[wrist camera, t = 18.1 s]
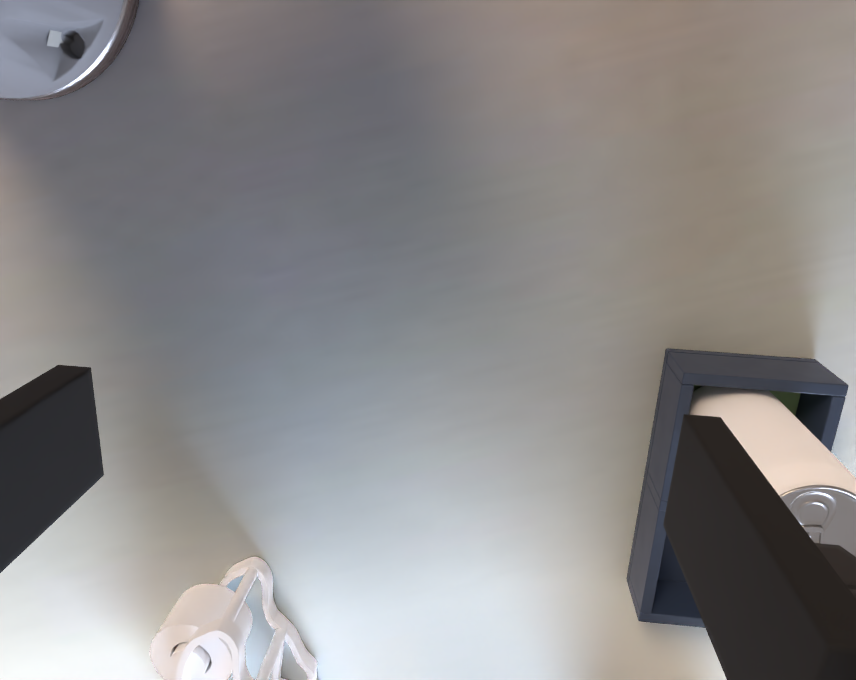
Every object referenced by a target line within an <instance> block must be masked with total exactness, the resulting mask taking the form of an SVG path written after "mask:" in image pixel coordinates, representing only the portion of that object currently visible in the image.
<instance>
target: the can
mask: <svg viewBox="0 0 856 680" xmlns="http://www.w3.org/2000/svg"><path fill="white" fill-rule="evenodd" d="M689 415H701V416H713V417H721V418H722V420H723V421H724V422H725V424H726V425H727V426H728V428H729V429H730V430H731V432H732V433H733V434H734V436H735V437H736V438H737V440H738V441H739V442H740V444H741V445H742V446H743V448H744V449H745V451H746V452H747V453H748V455H749V456H750V457H751V459H752V460H753V461H754V463H755V464H756V465H757V467H758V468H759V469H760V471H761V472H762V473H763V475H764V476H765V477H766V479H767V480H768V481H769V483H770V484H771V485H772V487H773V488H774V489H775V491H776V492H777V493H778V495H779V496H780V497H781V499H782V500H783V501H784V503H785V504H786V505H787V507H788V508H789V510H790V511H791V512H792V514H793V515H794V516H795V518H796V519H797V520H798V522H799V523H800V524H801V526H802V527H803V528H804V530H805V531H806V532H807V534H808V535H809V536H810V538H811V539H812V540H813V542H814V543H821V544H832V545H840V546H841V547H843V548H844V549H845V550H847V551H848V552H850V553H851V554H852V555H854V556H855V557H856V478H855V477H854V476H853V475H852V474H851V473H850V471H849V470H848V469H847V468H846V467H845V466H844V465H843V464H842V463H841V462H840V461H839V460H838V459H837V458H836V457H835V456H834V455H833V454H832V453H831V452H830V451H829V450H828V449H827V448H826V447H825V446H824V445H823V444H822V443H821V442H820V441H819V440H818V439H817V438H816V437H815V436H814V435H813V434H812V433H811V432H810V431H809V430H808V429H807V428H806V427H805V426H804V425H803V424H802V423H801V422H800V421H799V420H798V419H797V418H796V417H795V416H794V415H793V414H792V413H791V412H790V411H789V410H788V409H787V408H786V407H785V406H784V405H783V404H782V403H781V402H780V401H779V400H778V399H777V398H776V397H775V396H774V395H773V394H772V393H771V392H770V391H767V390H754V389H741V388H728V387H714V386H702V387H700V388H698V389H697V390H695V391H694V392H693V394H692V399H691V405H690V410H689Z"/></svg>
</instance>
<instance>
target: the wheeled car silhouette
mask: <svg viewBox="0 0 856 680" xmlns="http://www.w3.org/2000/svg"><path fill="white" fill-rule="evenodd" d="M244 574H245V575H244ZM242 575H244V577H243V579H242V581H241V582H240V584H239V586H238V588H237V590H236V592H234V591H232V590H230V589H229V588H226V587H227V585H228V584H229V583H230V582H231V581H232V580H233V579H235V578H237V577H239V576H242ZM256 577H257V578H258V579H259V581H260V583H261V586H262V607H263V612H264V615H265V618H266V620H267V622H268V623H269V625H270V626H271V627H272V628H274V629H275V630H276V631H275V634H274V636H273V639H272V641H271V644H270V646H269V648H268V651H267V653H266V656H265V658H264V660H263V663H262V665H261V668H260V670H259V673H258V675H257V677H256V680H269V677H270V675H271V672H272V675H271V680H287V679H283V678H281V668H282V660H283V650H284V639H285V641H286V642H287V644H288V646H289V647H290V649H291V652H292V654H293V656H294V658H295V660H296V662H297V663H298V665H299V666H300V667H301V668H302V669H303V670H304V671H305V672H306V673H307V680H318V679H317V665H318V663H317V661H316V659H315V658H314V657H313V656H312V655H311V654H310V653H309V652H308V651H307V649H306V648H305V646H304V644H303V642H302V640H301V637H300V635H299V633H298V631H297V630H296V628H295V627H294V625H293V624H292V623H291V622H290V621H289V620H288V619H287V618H286V617H285V616H284V615H283V614H282V613H281V612H280V611H279V610H278V609H277V607H276V605H275V602H274V598H273V575H272V572H271V570H270V567H269V566H268V564H267V563H266V562H265V561H264V560H262V559H261V558H259V557H255V556H253V557H250V558H247V559H245V560H243V561H241V562H238V563H236V564H234V565H233V566H232V567H231V568H230V569H229V570H228V572H227V573H226V575H225V576H224V578H223V580H222V582H221V583H220V585H217V584H200V585H196V586H192V587H191V588H189V589H188V590H186V591H184V592H183V594H182V595H181V596H180V598H179V599H178V601H177V602H176V604H175V605H174V607H173V609H172V610H171V612H170V613H169V615H168V616H167V618H166V620H165V621H164V623H163V624H162V626H161V627H160V629H159V630H158V632H157V634H156V635H155V637H154V638H153V640H152V642H151V646H150V651H149V652H150V658H151V662H152V664H153V666H154V668H155V670H156V671H157V673H158V674H159V675H160V676H161V677H162V678H163V679H164V680H228V678H229V677H230V675H231V673H233V679H234V680H255V679H254V678H252V677H251V675H250V673H249V671H248V669H247V666H246V660H245V643H246V641H247V638H248V636H249V634H250V632H251V628H252V624H253V621H252V613H251V611H250V609H249V607H248V605H247V603H246V602H245V599H246V597H247V595H248V593H249V591H250V589H251V587H252V585H253V583H254V581H255V579H256Z"/></svg>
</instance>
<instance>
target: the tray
mask: <svg viewBox="0 0 856 680" xmlns="http://www.w3.org/2000/svg"><path fill="white" fill-rule="evenodd" d="M702 386H714V387H728V388H741V389H754V390H767V391H770V392H771V393H772V394H773V395H774V396H775V397H776V398H777V399H778V400H779V401H780V402H781V403H782V404H783V405H784V406H785V407H786V408H787V409H788V410H789V411H790V412H791V413H792V414H793V415H794V416H795V417H796V418H797V419H798V420H799V421H800V422H801V423H802V424H803V425H804V426H805V427H806V428H807V429H808V430H809V431H810V432H811V433H812V434H813V435H814V436H815V437H816V438H817V439H818V440H819V441H820V442H821V443H822V444H823V445H824V446H825V447H826V448H827V449H828V450H829V451H830V452H831V450H832V446H833V442H834V438H835V435H836V431H837V427H838V423H839V420H840V416H841V412H842V409H843V405H844V401H845V396H846V394H847V390H848V384H846V383H845V382H844V381H842V380H841V379H840V378H838V377H837V376H836V375H835V374H833V373H832V372H831V371H829V370H828V369H827V368H825V367H824V366H823V365H822V364H820V363H819V362H818V361H817V360H815V359H803V358H789V357H775V356H762V355H748V354H734V353H720V352H706V351H693V350H679V349H666V352H665V358H664V364H663V370H662V375H661V381H660V387H659V393H658V399H657V405H656V410H655V416H654V422H653V428H652V434H651V440H650V446H649V451H648V457H647V463H646V469H645V475H644V481H643V487H642V492H641V498H640V504H639V510H638V516H637V522H636V527H635V533H634V539H633V545H632V551H631V557H630V563H629V568H628V574H627V582H628V585H629V589H630V592H631V596H632V599H633V603H634V606H635V610H636V613H637V617H638V620H639V621H642V622H652V623H663V624H673V625H683V626H693V627H703V628H705V625H704V623H703V620H702V618H701V615H700V613H699V611H698V608H697V606H696V603H695V601H694V599H693V596H692V594H691V591H690V589H689V586H688V584H687V582H686V579H685V577H684V574H683V572H682V570H681V567H680V565H679V562H678V560H677V557H676V555H675V553H674V550H673V548H672V545H671V543H670V541H669V538H668V536H667V533H666V531H665V528H664V526H663V523H664V518H665V512H666V507H667V501H668V496H669V491H670V485H671V480H672V475H673V469H674V464H675V458H676V453H677V448H678V442H679V437H680V432H681V426H682V421H683V415H684V414H688V415H689V410H690V405H691V399H692V394H693V392H694V391H695V390H697V389H698V388H700V387H702Z"/></svg>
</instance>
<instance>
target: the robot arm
mask: <svg viewBox="0 0 856 680" xmlns="http://www.w3.org/2000/svg"><path fill="white" fill-rule="evenodd" d="M138 4H139V0H0V99H8V100H43V99H51V98H55V97H59V96H63V95H66V94H69V93H71V92H74V91H76V90H78V89H80V88H82V87H84V86H85V85H87V84H88V83H90V82H91V81H93V80H94V79H95V78H97V77H98V76H99V75H100V74H101V73H102V72H103V71H104V70H105V69H106V68H107V67H108V66H109V65H110V64H111V63H112V62H113V60H114V59H115V58H116V56H117V55H118V54H119V52H120V50H121V49H122V47H123V45H124V43H125V42H126V40H127V37H128V35H129V33H130V31H131V28H132V25H133V22H134V19H135V17H136V12H137V8H138ZM103 475H104V472H103V464H102V456H101V448H100V439H99V431H98V423H97V415H96V407H95V398H94V390H93V382H92V374H91V368H90V367H77V366H65V365H57V366H56V367H54V368H52V369H51V370H49V371H47V372H46V373H44V374H42V375H40V376H39V377H37V378H35V379H34V380H32V381H30V382H29V383H27V384H25V385H24V386H22V387H20V388H19V389H17V390H15V391H13V392H12V393H10V394H8V395H7V396H5V397H3V398H2V399H0V573H1V572H2V571H3V570H4V569H5V568H6V567H7V566H8V565H9V564H10V563H11V562H12V561H13V560H15V559H16V558H17V557H18V556H19V555H20V554H21V553H22V552H23V551H24V550H25V549H26V548H27V547H28V546H29V545H30V544H31V543H32V542H34V541H35V540H36V539H37V538H38V537H39V536H40V535H41V534H42V533H43V532H44V531H45V530H46V529H47V528H48V527H49V526H50V525H52V524H53V523H54V522H55V521H56V520H57V519H58V518H59V517H60V516H61V515H62V514H63V513H64V512H65V511H66V510H67V509H68V508H69V507H71V506H72V505H73V504H74V503H75V502H76V501H77V500H78V499H79V498H80V497H81V496H82V495H83V494H84V493H85V492H86V491H87V490H89V489H90V488H91V487H92V486H93V485H94V484H95V483H96V482H97V481H98V480H99V479H100V478H101V477H102V476H103ZM663 526H664V528H665V531H666V533H667V536H668V538H669V541H670V543H671V545H672V548H673V550H674V553H675V555H676V557H677V560H678V562H679V565H680V567H681V570H682V572H683V574H684V577H685V579H686V582H687V584H688V586H689V589H690V591H691V594H692V596H693V599H694V601H695V603H696V606H697V608H698V611H699V613H700V615H701V618H702V620H703V623H704V625H705V628H706V630H707V632H708V635H709V637H710V640H711V642H712V644H713V647H714V649H715V652H716V654H717V656H718V659H719V661H720V664H721V666H722V669H723V671H724V673H725V676H726V678H727V680H856V557H855V556H854V555H852V554H851V553H850V552H848V551H847V550H845V549H844V548H843V547H841V546H840V545H832V544H821V543H814V542H813V540H812V539H811V538H810V536H809V535H808V534H807V532H806V531H805V530H804V528H803V527H802V526H801V524H800V523H799V522H798V520H797V519H796V518H795V516H794V515H793V514H792V512H791V511H790V510H789V508H788V507H787V505H786V504H785V503H784V501H783V500H782V499H781V497H780V496H779V495H778V493H777V492H776V491H775V489H774V488H773V487H772V485H771V484H770V483H769V481H768V480H767V479H766V477H765V476H764V475H763V473H762V472H761V471H760V469H759V468H758V467H757V465H756V464H755V463H754V461H753V460H752V459H751V457H750V456H749V455H748V453H747V452H746V451H745V449H744V448H743V446H742V445H741V444H740V442H739V441H738V440H737V438H736V437H735V436H734V434H733V433H732V432H731V430H730V429H729V428H728V426H727V425H726V424H725V422H724V421H723V420H722V418H721V417H713V416H701V415H688V414H684V415H683V421H682V426H681V432H680V437H679V442H678V448H677V453H676V458H675V464H674V469H673V475H672V480H671V485H670V491H669V496H668V501H667V507H666V512H665V518H664V523H663Z"/></svg>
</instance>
